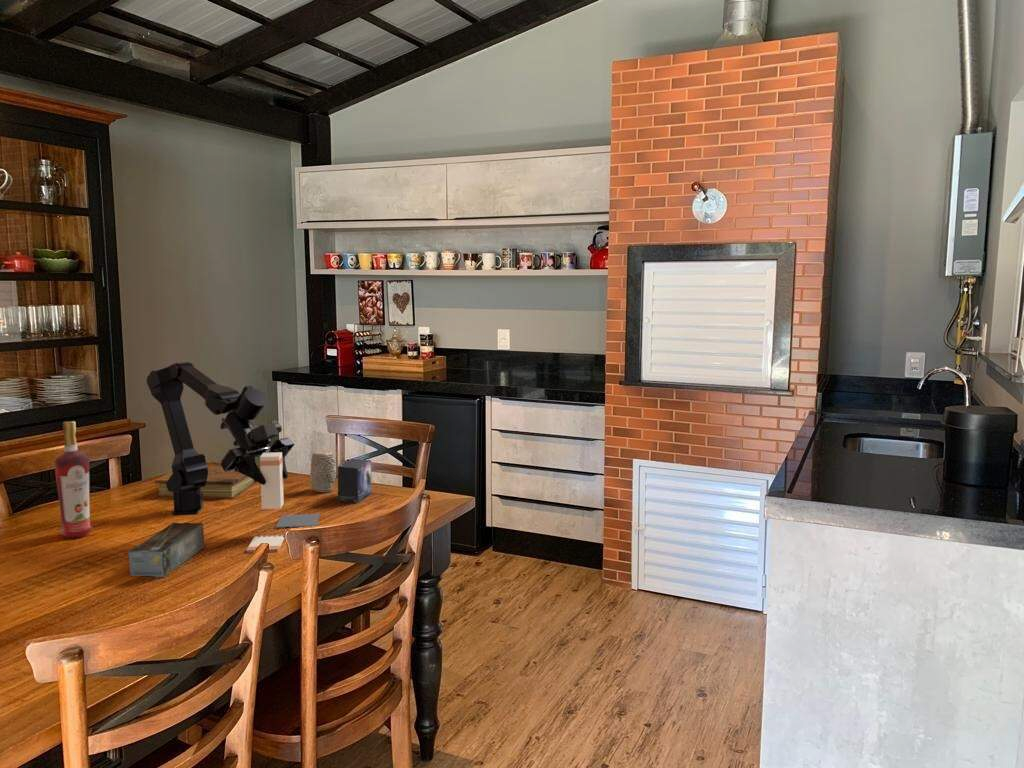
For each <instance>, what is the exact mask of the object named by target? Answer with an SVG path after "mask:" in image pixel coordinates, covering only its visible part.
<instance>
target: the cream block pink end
mask: <svg viewBox="0 0 1024 768" xmlns="http://www.w3.org/2000/svg"><path fill="white" fill-rule="evenodd" d="M283 535H284V534H279V535H278V534H277V535H257V536H256V535H255V536H254V537H253V539H252V540H251V542H250V544H249V545H248V547H246V549H245V554H254V553H253V552H254V550H255V549H256V548H257V547H258V546H259V545H260V544H261V543H268V544H269V552H268V553H277V552H279V550H280V548H281V546H282V544H283V542H284V540H285V538H284V537H283Z"/></svg>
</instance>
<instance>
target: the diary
mask: <svg viewBox="0 0 1024 768" xmlns="http://www.w3.org/2000/svg"><path fill="white" fill-rule="evenodd" d="M207 466H208V465H207ZM234 470H235V469H234ZM234 470H231V471H227V472H225V471H224V470H223V468H222V466H221V465H220V466H217V465H216V466H212V465H210V466H208V477H207V482H206V486H205V487H200V489H201V492H202V493H203V500H204V498H207V499H211V500H214V499H213V498H216V499H215V500H235V499H236V498H238V497H239V496H241V495H242V494H244V493H245V492H247V491H248V490H250V489H251V488H252V486H253V485H254V484H256V483H257V484H259V482H257V481H255V480H254V479H252V478H250V477H248V476H246V475H244V474H242V473H239V472H235V471H234ZM172 474H173V472H172V471H171V472H169V473H167V474H165V475H163V476H161V477H159V478H156V479H154V484H158V494H157V495H155V498H162V499H163V498H165V499H168V498H169V499H174V497H173V492H171V491H168V489H167V486H166V483H167V481H168V480H169V478H170V477H171V475H172ZM257 484H256V485H257ZM254 486H255V485H254ZM254 486H253V487H254ZM250 487H251V488H250ZM249 488H250V489H249ZM247 489H248V490H247ZM246 490H247V491H246ZM244 491H245V492H244ZM243 492H244V493H243ZM241 493H242V494H241ZM240 494H241V495H240ZM238 495H239V496H238ZM237 496H238V497H237ZM235 497H236V498H235ZM234 498H235V499H234ZM207 499H206V500H207Z"/></svg>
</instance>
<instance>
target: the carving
mask: <svg viewBox="0 0 1024 768" xmlns="http://www.w3.org/2000/svg"><path fill="white" fill-rule="evenodd" d="M336 468H337V467H336V460H335V454H334V452H333V451H332V450H330V449H329V450H328V449H318V450H315V451H314V452H312V455H311V462H310V474H309V475H310V476H309V480H310V481H309V482H310V487H311V489H312V490H313V491H315V492H317V493H330V492H332V491H333V489H334V486H335V483H336V482H335V481H336V472H337V471H336V470H337V469H336Z"/></svg>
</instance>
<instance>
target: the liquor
mask: <svg viewBox="0 0 1024 768" xmlns="http://www.w3.org/2000/svg"><path fill="white" fill-rule="evenodd" d="M62 429H63V434H64V439H63V440H64V443H63V444H64V445H63V447H64V448H63V454H62V455H60V456H58V457H57V458H56V459H54V461H53V463H54V464H53V465H54V472H55V481H56V488H57V495H58V501H59V511H60V519H61V529H60V531H59V532H60V534H61V535H62V536H64V537H65V538H67V539H79V538H82V537H86V536H87V535H88V534H89V533H90V532H91V531H92V530H93V526H92V525H91V517H90V516H91V514H90V513H91V510H90V458H89V456H87V455H85V454H83V453H79V447H78V443H77V437H76V431H77V425H76V421H74V420H73V421H63V422H62Z"/></svg>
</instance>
